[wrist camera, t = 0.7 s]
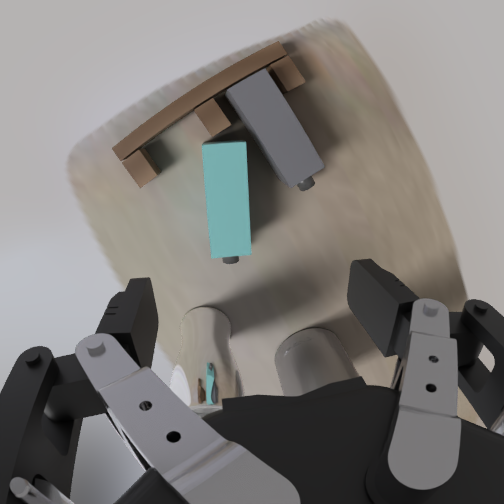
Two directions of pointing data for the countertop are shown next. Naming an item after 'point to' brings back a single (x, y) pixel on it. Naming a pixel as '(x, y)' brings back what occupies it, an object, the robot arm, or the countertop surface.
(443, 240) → the countertop surface
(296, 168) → the charcoal plug
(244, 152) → the teal plug
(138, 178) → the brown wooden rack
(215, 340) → the beer glass
